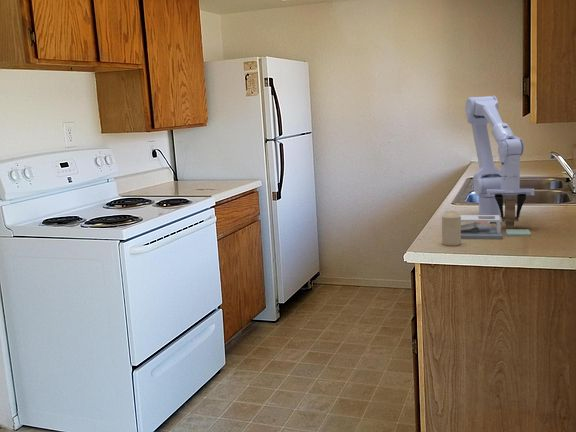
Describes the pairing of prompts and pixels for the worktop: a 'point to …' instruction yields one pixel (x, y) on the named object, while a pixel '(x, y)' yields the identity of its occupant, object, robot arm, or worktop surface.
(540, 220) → the worktop surface
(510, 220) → the brown block
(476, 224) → the rocker switch
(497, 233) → the breaker housing
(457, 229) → the candle
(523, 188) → the robot arm
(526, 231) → the mat
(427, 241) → the worktop surface
